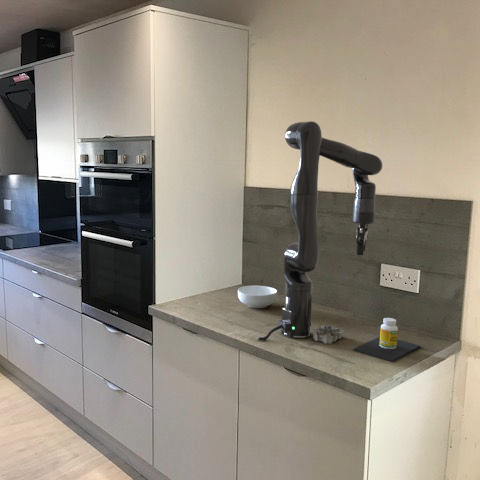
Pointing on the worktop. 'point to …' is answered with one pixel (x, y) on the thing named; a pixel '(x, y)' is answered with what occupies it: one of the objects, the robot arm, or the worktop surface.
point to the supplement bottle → (388, 334)
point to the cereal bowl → (257, 296)
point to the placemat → (388, 354)
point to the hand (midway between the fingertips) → (360, 253)
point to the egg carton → (327, 334)
